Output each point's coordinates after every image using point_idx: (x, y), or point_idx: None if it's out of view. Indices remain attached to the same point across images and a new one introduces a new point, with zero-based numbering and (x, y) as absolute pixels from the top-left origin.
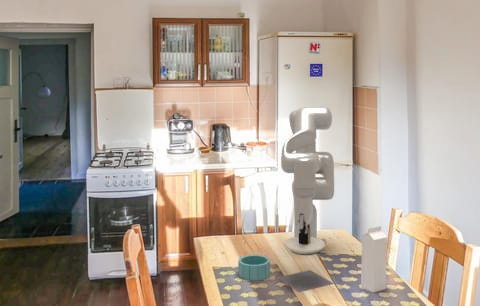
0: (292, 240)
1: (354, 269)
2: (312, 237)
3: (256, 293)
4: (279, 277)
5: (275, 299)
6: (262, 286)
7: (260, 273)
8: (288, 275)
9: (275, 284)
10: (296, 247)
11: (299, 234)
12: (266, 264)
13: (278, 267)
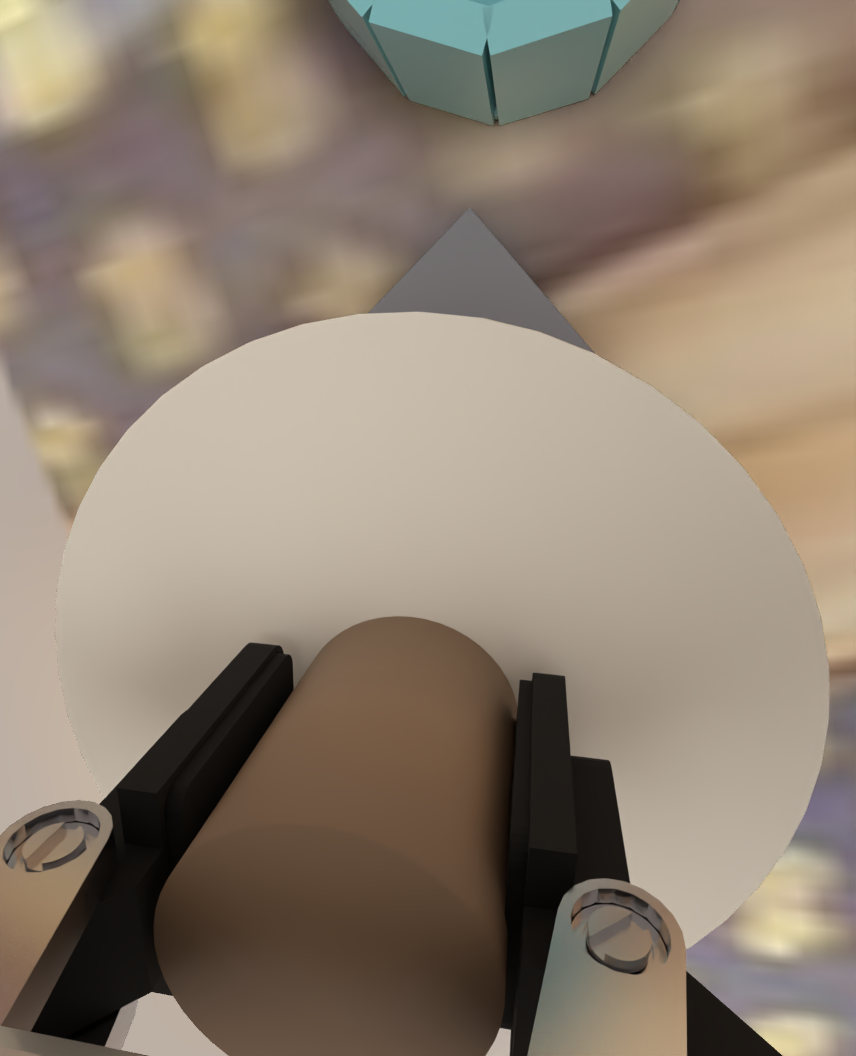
0: (499, 467)
1: (839, 891)
2: (774, 842)
3: (64, 106)
4: (475, 248)
5: (20, 323)
6: (237, 116)
7: (336, 6)
8: (552, 334)
9: (324, 242)
10: (115, 598)
11: (149, 772)
12: (394, 33)
13: (844, 146)
